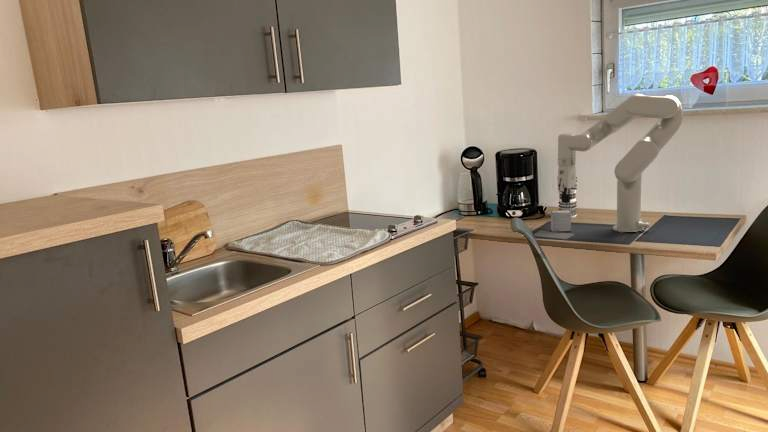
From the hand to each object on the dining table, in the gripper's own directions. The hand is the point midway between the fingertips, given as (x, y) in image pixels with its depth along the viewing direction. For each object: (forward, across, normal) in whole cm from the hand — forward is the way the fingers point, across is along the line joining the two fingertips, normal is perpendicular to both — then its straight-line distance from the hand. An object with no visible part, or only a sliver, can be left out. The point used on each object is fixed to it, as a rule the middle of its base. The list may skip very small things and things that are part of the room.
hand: (565, 202), depth 274 cm
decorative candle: (+12, +21, +8) cm, 25 cm away
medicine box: (+12, -7, -1) cm, 14 cm away
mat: (+12, -15, -1) cm, 19 cm away
